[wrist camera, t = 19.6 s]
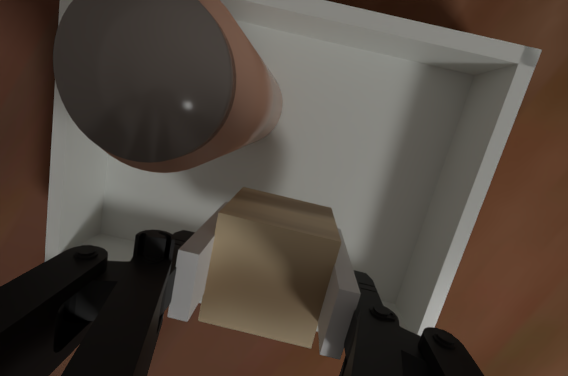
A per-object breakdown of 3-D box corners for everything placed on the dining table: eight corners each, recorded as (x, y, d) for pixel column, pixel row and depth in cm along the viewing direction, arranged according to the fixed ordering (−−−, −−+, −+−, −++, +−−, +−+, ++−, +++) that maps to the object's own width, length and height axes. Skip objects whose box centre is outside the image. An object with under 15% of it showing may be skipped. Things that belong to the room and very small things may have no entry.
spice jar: (196, 133, 21) (31, 151, 8) (210, 51, 20) (44, -73, 7) (272, 151, 21) (223, 199, 8) (291, 71, 19) (267, -20, 7)
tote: (94, 237, 23) (44, 265, 19) (118, -19, 20) (63, -60, 15) (399, 311, 23) (423, 356, 19) (486, 66, 19) (542, 49, 15)
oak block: (243, 186, 17) (218, 212, 12) (331, 207, 17) (341, 241, 12) (226, 267, 18) (198, 320, 13) (309, 287, 18) (310, 348, 13)
